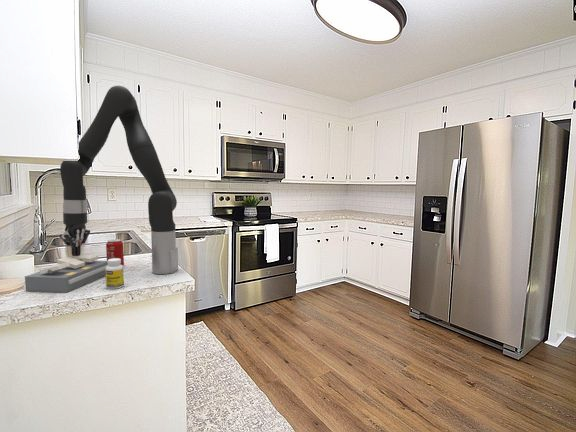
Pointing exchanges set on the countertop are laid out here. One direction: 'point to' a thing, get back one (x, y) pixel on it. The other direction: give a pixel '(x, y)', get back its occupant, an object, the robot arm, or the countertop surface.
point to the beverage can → (115, 250)
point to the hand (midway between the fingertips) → (76, 255)
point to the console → (66, 278)
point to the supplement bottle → (114, 274)
